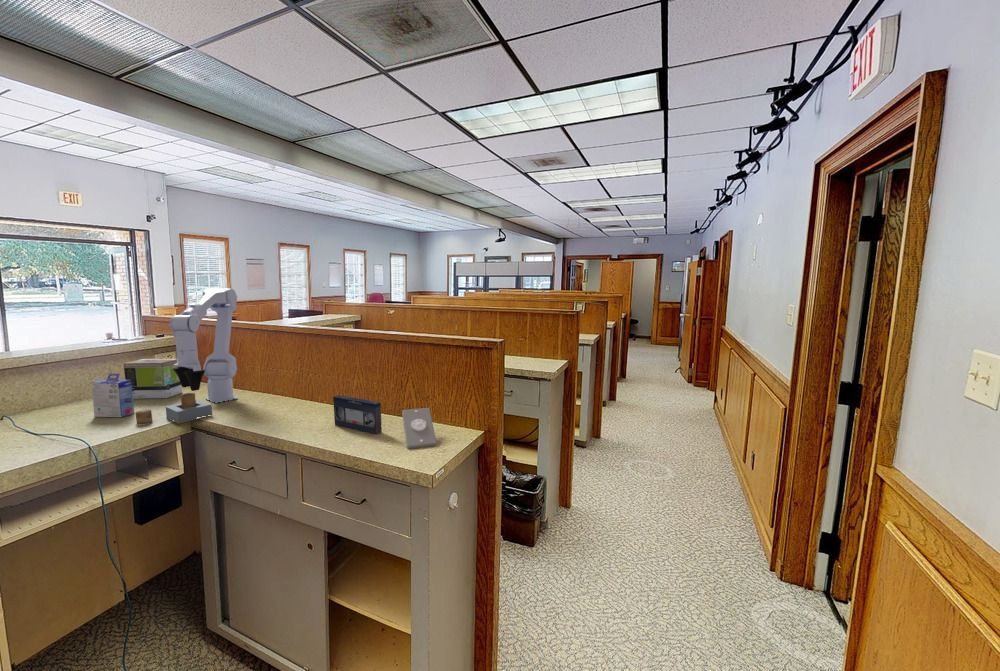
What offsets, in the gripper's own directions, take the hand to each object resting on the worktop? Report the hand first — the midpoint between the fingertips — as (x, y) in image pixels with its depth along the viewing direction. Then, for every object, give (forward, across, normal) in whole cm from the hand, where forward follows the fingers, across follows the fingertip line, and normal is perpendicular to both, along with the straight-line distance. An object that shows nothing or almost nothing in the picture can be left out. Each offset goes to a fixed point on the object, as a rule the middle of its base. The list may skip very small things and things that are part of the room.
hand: (190, 388), depth 145 cm
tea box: (+10, -41, +2) cm, 42 cm away
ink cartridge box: (+10, -23, -15) cm, 29 cm away
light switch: (+10, +79, +30) cm, 86 cm away
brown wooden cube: (+10, -5, -12) cm, 16 cm away
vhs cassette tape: (+10, +57, +25) cm, 63 cm away
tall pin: (+10, 0, -1) cm, 10 cm away
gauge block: (+10, 0, -1) cm, 10 cm away
